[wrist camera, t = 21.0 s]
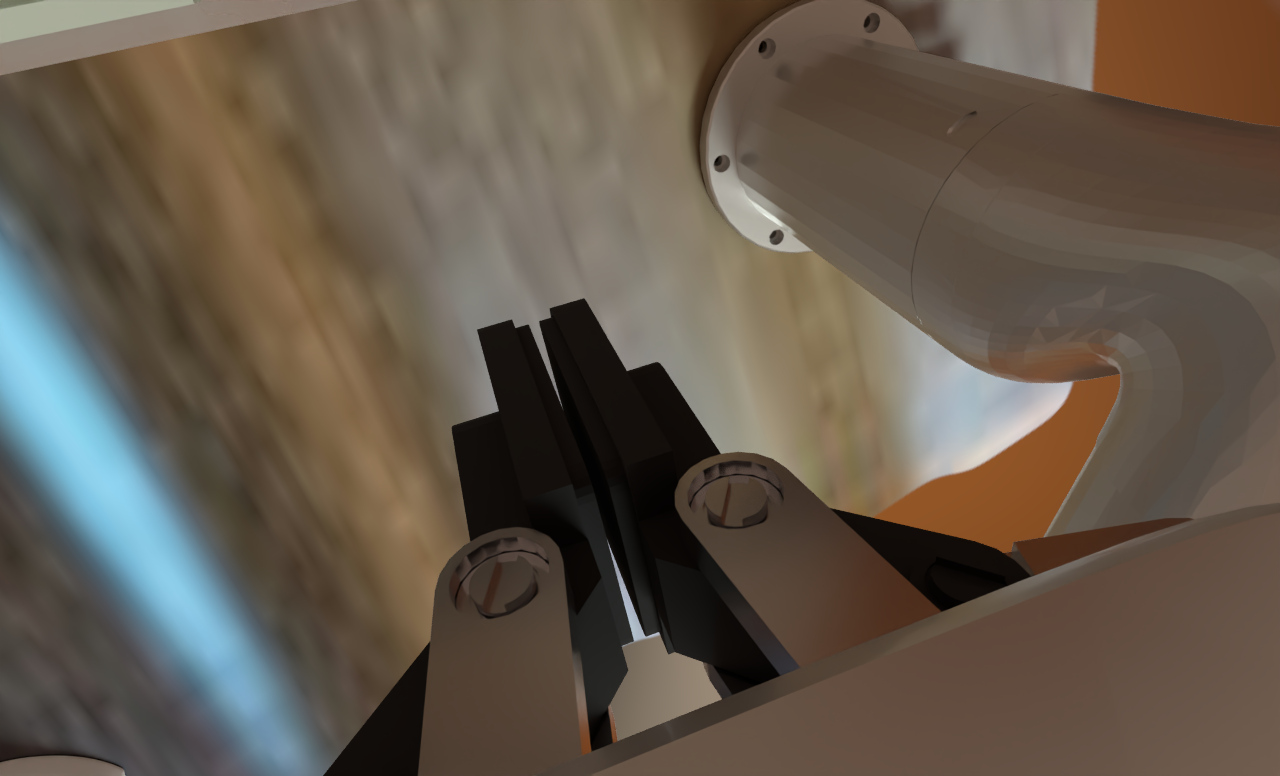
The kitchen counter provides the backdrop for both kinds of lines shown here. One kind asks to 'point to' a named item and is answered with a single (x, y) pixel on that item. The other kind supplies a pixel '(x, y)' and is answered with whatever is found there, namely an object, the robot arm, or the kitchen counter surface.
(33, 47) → the white flat board
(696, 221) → the kitchen counter surface
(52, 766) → the jar
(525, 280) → the kitchen counter surface
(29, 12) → the pale green open box
